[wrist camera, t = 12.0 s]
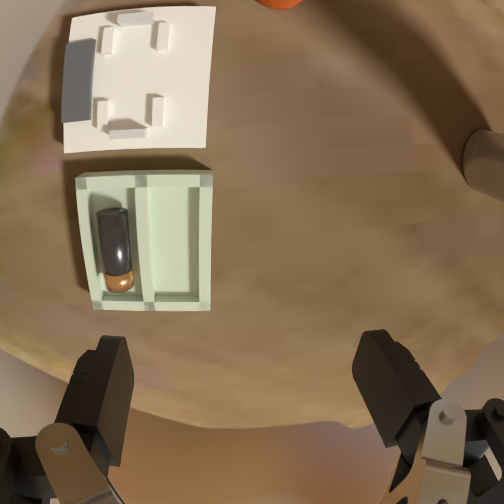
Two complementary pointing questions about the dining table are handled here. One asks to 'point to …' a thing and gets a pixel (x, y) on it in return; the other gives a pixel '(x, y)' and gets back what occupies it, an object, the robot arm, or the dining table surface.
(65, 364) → the dining table surface
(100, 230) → the cell
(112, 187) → the tray
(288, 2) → the paper cup
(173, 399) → the dining table surface
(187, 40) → the white battery holder
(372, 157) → the dining table surface
